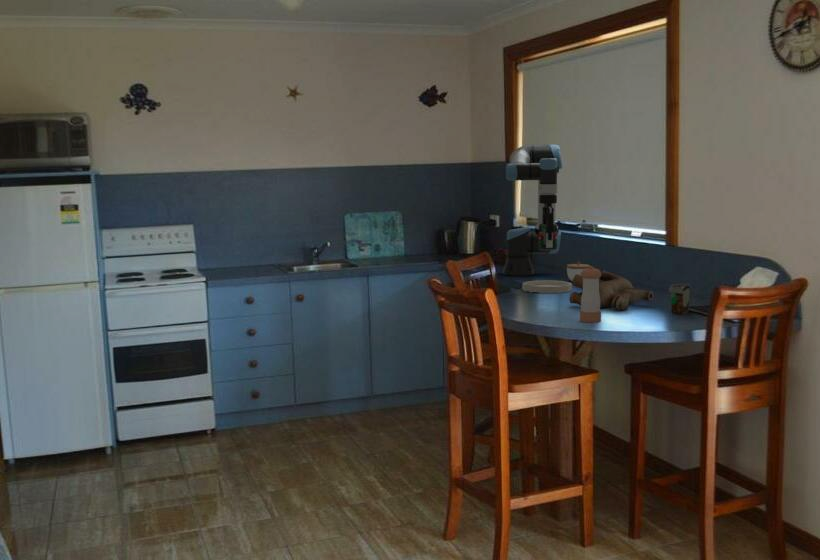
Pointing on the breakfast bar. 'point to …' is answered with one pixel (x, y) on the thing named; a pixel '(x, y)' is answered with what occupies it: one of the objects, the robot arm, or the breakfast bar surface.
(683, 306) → the food container
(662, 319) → the breakfast bar surface
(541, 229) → the canned tomato
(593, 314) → the pepper shaker
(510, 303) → the breakfast bar surface
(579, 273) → the lidded jar
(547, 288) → the round tray
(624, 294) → the stuffed animal
